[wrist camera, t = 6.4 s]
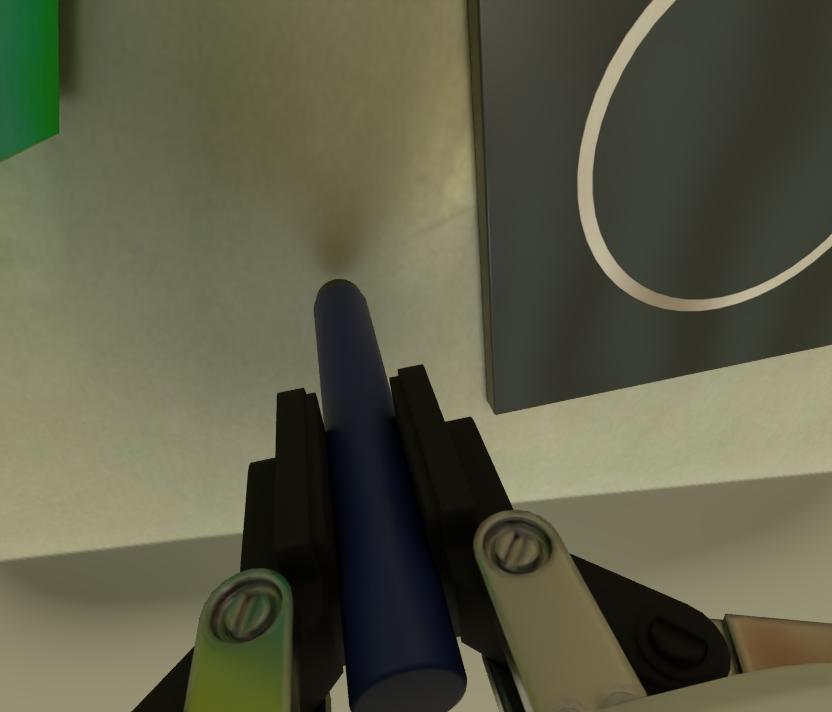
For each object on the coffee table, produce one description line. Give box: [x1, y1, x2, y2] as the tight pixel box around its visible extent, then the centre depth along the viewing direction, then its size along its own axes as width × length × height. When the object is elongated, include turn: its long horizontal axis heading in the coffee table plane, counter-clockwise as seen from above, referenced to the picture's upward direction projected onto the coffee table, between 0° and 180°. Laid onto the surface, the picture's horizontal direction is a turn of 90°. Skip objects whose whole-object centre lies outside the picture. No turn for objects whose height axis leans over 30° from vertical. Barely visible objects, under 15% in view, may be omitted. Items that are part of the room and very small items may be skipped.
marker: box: [314, 279, 467, 712], centre depth 12 cm, size 2×2×12 cm
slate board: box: [468, 0, 832, 415], centre depth 19 cm, size 18×18×1 cm
